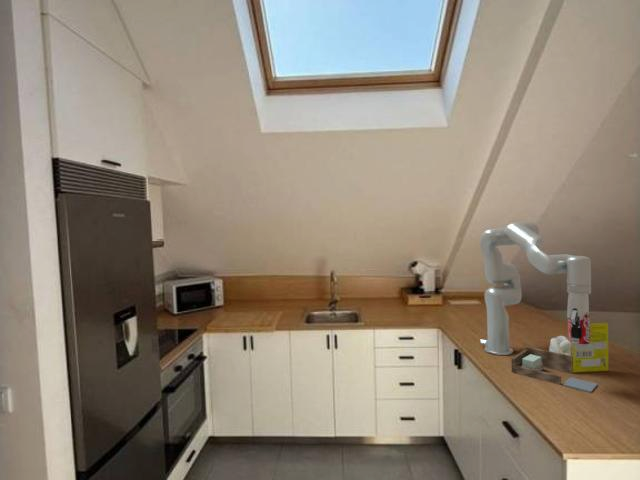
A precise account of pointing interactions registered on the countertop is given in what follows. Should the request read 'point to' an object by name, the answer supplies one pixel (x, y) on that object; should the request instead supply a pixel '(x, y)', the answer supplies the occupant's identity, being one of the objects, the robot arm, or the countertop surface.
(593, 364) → the food package
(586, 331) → the soda can
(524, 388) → the countertop surface
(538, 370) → the offcut lower
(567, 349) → the white decorative knot
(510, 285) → the robot arm
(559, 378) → the frame
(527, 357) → the offcut upper
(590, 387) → the slate mat
